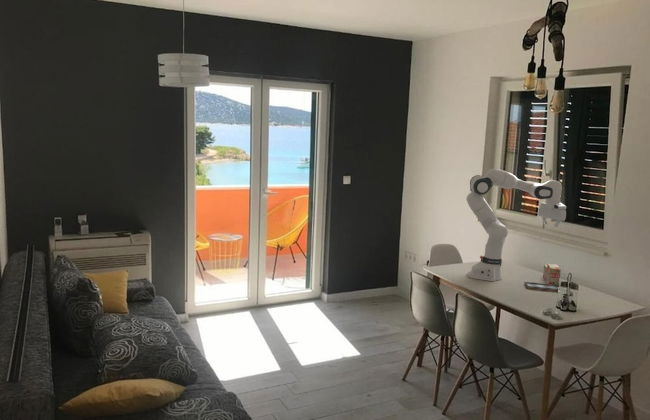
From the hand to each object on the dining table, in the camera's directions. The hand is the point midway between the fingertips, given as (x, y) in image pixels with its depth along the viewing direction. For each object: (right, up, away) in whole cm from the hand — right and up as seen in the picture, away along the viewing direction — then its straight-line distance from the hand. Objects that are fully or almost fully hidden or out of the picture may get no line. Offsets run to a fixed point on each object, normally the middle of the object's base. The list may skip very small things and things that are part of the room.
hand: (550, 225), depth 360 cm
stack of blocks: (+4, -39, +9) cm, 40 cm away
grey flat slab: (-6, -41, -8) cm, 42 cm away
